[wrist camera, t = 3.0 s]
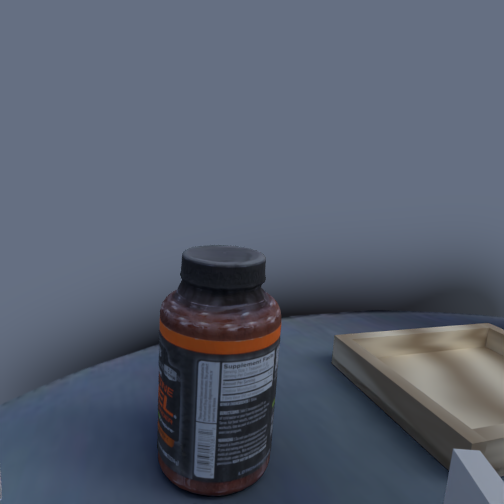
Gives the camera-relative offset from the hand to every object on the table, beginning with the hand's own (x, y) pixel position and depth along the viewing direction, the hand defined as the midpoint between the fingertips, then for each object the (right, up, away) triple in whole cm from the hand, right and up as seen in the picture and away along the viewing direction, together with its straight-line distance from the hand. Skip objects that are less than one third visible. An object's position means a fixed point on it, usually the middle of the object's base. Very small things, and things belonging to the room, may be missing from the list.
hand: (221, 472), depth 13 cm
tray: (+17, -4, +19) cm, 26 cm away
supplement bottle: (-1, -5, +11) cm, 12 cm away
